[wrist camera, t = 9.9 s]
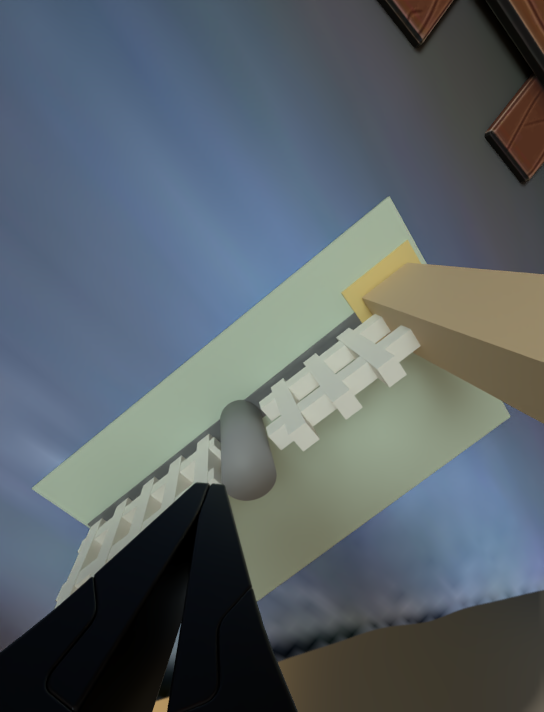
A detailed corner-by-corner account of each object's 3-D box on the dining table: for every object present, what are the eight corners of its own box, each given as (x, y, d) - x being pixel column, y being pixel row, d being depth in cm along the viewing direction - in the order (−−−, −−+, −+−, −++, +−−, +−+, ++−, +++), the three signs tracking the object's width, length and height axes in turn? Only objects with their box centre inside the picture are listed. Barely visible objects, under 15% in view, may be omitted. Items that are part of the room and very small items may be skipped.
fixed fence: (110, 541, 21) (75, 638, 16) (79, 520, 20) (32, 616, 15) (268, 417, 20) (287, 478, 15) (243, 390, 19) (253, 444, 14)
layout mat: (228, 619, 25) (228, 624, 24) (33, 486, 19) (30, 490, 18) (508, 415, 23) (512, 417, 22) (387, 196, 17) (390, 195, 17)
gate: (278, 421, 19) (355, 640, 9) (246, 386, 18) (289, 584, 8) (431, 306, 19) (725, 389, 8) (406, 262, 18) (707, 288, 7)
